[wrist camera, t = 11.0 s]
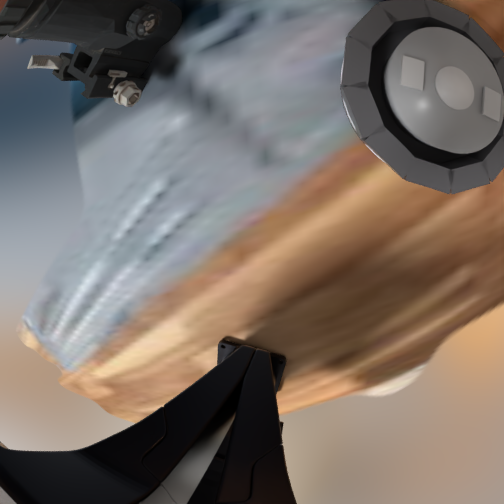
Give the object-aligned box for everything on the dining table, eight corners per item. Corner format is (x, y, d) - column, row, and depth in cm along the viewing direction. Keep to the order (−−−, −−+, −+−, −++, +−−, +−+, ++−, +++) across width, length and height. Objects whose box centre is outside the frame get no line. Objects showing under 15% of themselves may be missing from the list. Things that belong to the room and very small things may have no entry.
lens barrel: (467, 191, 15) (501, 215, 11) (329, 152, 17) (328, 162, 12) (485, 57, 10) (522, 46, 6) (346, 10, 12) (349, -24, 8)
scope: (-50, 82, 6) (20, -74, 1) (93, 70, 18) (152, -26, 13) (-22, 137, 6) (86, -94, 2) (152, 110, 18) (228, 1, 14)
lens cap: (470, 160, 12) (497, 170, 9) (375, 131, 13) (386, 133, 10) (480, 63, 9) (507, 55, 6) (383, 29, 10) (394, 9, 7)
